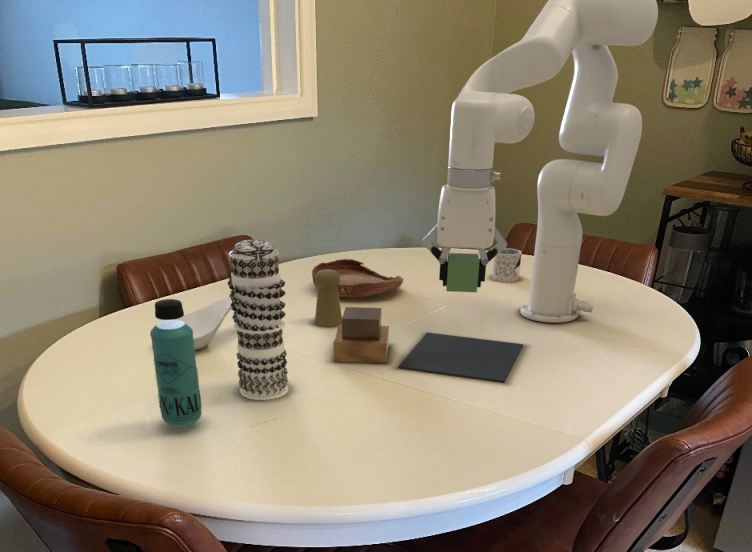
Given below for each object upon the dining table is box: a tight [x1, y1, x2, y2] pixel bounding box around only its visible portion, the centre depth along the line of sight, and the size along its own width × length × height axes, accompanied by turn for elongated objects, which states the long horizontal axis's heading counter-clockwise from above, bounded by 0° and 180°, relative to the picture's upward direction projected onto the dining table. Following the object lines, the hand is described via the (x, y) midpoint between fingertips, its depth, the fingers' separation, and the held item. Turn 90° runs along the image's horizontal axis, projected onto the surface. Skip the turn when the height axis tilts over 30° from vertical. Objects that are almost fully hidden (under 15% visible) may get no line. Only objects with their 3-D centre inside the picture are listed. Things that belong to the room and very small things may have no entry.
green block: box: [445, 252, 480, 293], centre depth 140 cm, size 6×6×6 cm
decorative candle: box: [227, 239, 289, 401], centre depth 128 cm, size 9×9×25 cm
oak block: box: [333, 324, 390, 364], centre depth 149 cm, size 10×10×4 cm
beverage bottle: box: [149, 298, 203, 426], centre depth 118 cm, size 6×7×20 cm
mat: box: [397, 332, 524, 384], centre depth 149 cm, size 20×20×1 cm
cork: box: [314, 269, 343, 328], centre depth 163 cm, size 6×6×11 cm
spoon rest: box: [174, 297, 236, 351], centre depth 155 cm, size 24×12×7 cm, turn 135°
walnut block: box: [342, 306, 383, 340], centre depth 147 cm, size 7×7×4 cm
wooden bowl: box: [311, 258, 404, 298], centre depth 184 cm, size 22×20×5 cm
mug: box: [492, 247, 523, 283], centre depth 195 cm, size 10×7×7 cm
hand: (461, 283), depth 141 cm, fingers closed on green block, 5 cm apart
